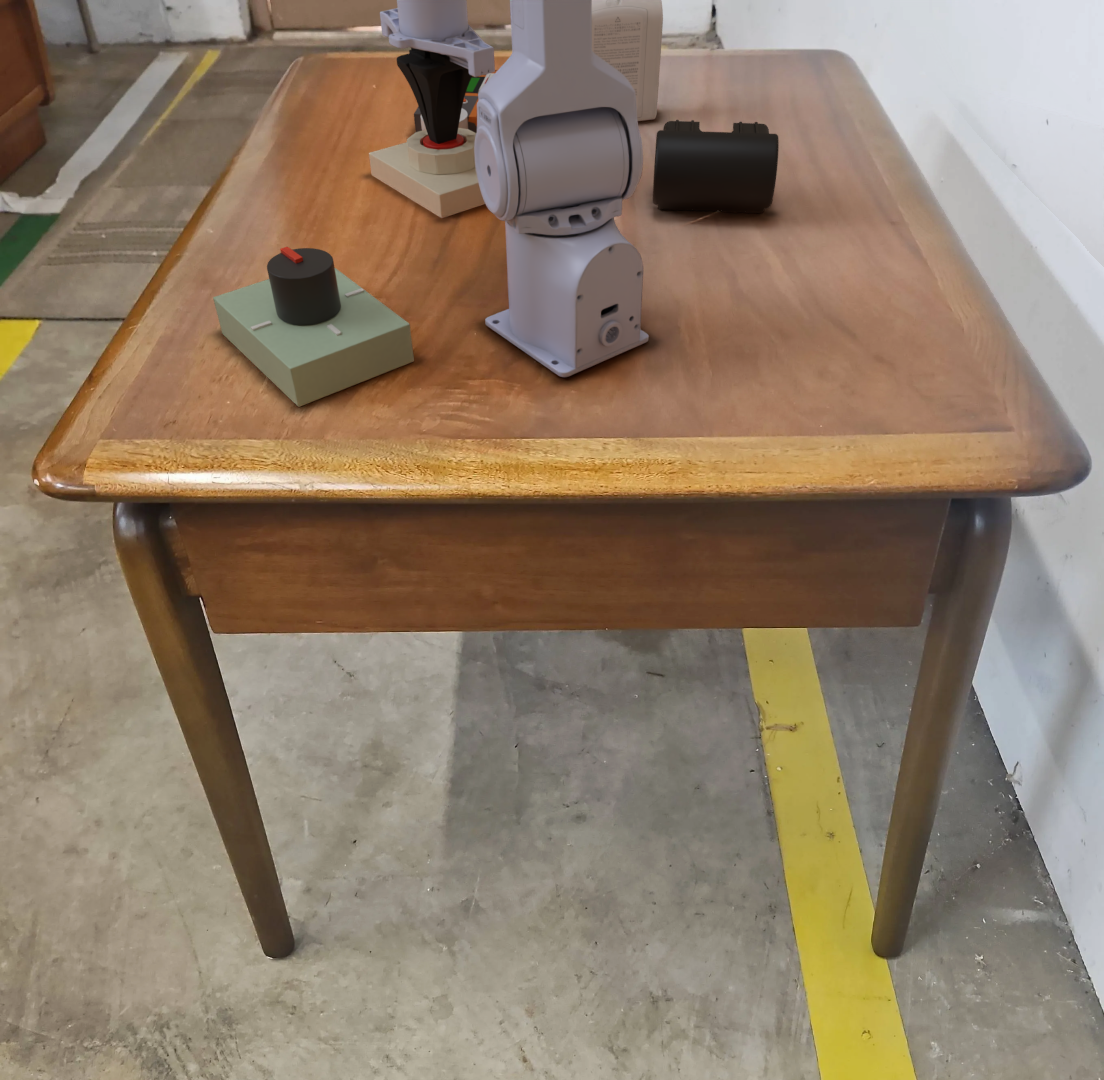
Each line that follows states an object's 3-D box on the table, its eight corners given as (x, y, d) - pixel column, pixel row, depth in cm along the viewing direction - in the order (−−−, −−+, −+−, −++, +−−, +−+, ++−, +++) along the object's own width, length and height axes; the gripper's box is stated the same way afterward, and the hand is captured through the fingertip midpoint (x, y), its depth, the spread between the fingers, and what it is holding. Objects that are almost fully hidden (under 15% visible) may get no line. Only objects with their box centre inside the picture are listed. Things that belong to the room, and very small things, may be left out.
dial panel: (414, 361, 71) (409, 321, 69) (298, 407, 67) (289, 366, 65) (331, 295, 78) (324, 257, 76) (221, 334, 74) (211, 294, 72)
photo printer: (650, 107, 108) (657, -23, 99) (662, 121, 105) (670, -12, 96) (555, 116, 106) (554, -15, 98) (565, 131, 103) (565, -4, 95)
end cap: (651, 223, 87) (655, 144, 83) (654, 189, 92) (658, 112, 88) (769, 228, 86) (780, 148, 82) (766, 193, 91) (776, 116, 87)
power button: (472, 159, 92) (471, 140, 91) (439, 169, 90) (437, 150, 89) (450, 147, 94) (449, 128, 93) (417, 157, 92) (415, 138, 91)
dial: (353, 310, 70) (344, 260, 68) (296, 332, 68) (286, 280, 66) (320, 287, 73) (311, 237, 70) (265, 307, 71) (254, 257, 68)
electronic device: (407, 120, 99) (441, 62, 110) (410, 149, 101) (444, 90, 112) (475, 123, 98) (503, 65, 109) (477, 153, 100) (504, 93, 111)
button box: (525, 192, 92) (523, 147, 90) (441, 219, 88) (437, 173, 85) (451, 152, 99) (448, 110, 97) (371, 176, 95) (365, 132, 93)
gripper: (341, -40, 84) (363, 126, 94) (436, -3, 76) (450, 176, 85) (413, -53, 88) (428, 109, 97) (513, -19, 79) (518, 155, 88)
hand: (443, 139), depth 91 cm, fingers closed, pressing on power button
